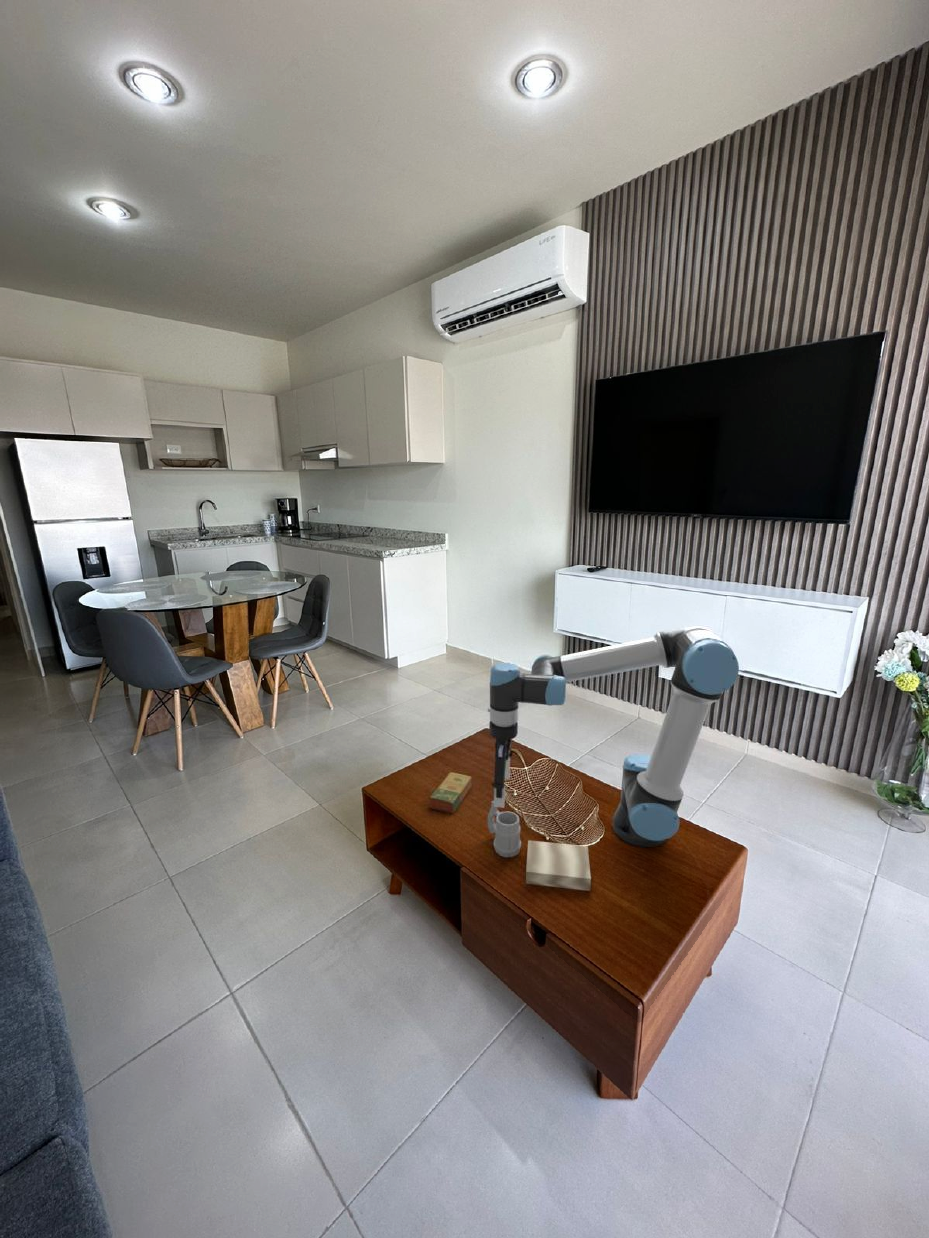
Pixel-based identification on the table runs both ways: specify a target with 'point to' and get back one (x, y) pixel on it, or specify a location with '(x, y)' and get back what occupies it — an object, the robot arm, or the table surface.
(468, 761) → the table surface
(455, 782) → the carton
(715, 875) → the table surface
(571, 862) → the cream rectangular block
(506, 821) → the mug
